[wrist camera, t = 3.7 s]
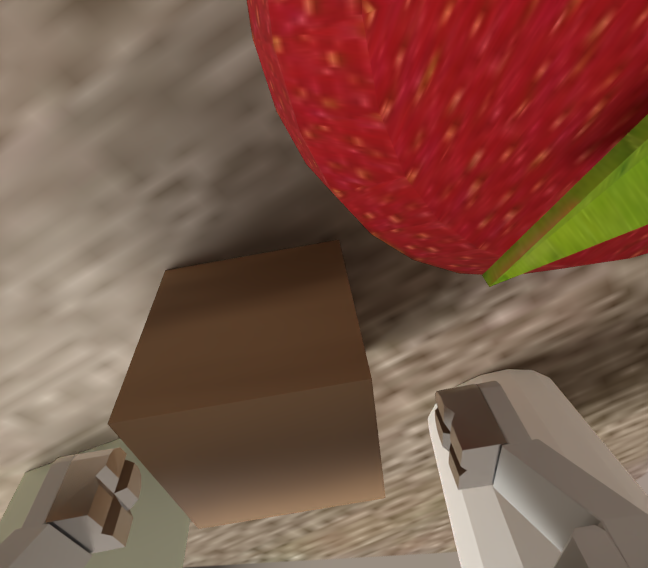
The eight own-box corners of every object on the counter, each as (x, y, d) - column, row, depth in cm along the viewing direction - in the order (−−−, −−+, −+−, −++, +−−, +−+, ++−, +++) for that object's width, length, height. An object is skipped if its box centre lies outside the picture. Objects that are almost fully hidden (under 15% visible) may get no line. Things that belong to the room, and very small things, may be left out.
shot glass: (393, 395, 16) (454, 617, 10) (567, 334, 15) (742, 550, 9) (434, 467, 20) (495, 654, 15) (574, 425, 19) (698, 612, 13)
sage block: (26, 470, 17) (-50, 620, 13) (123, 435, 16) (73, 585, 12) (109, 513, 20) (68, 645, 16) (195, 485, 19) (174, 618, 15)
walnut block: (166, 268, 11) (107, 423, 7) (338, 237, 11) (371, 378, 7) (219, 378, 14) (198, 529, 11) (355, 354, 14) (385, 497, 10)
